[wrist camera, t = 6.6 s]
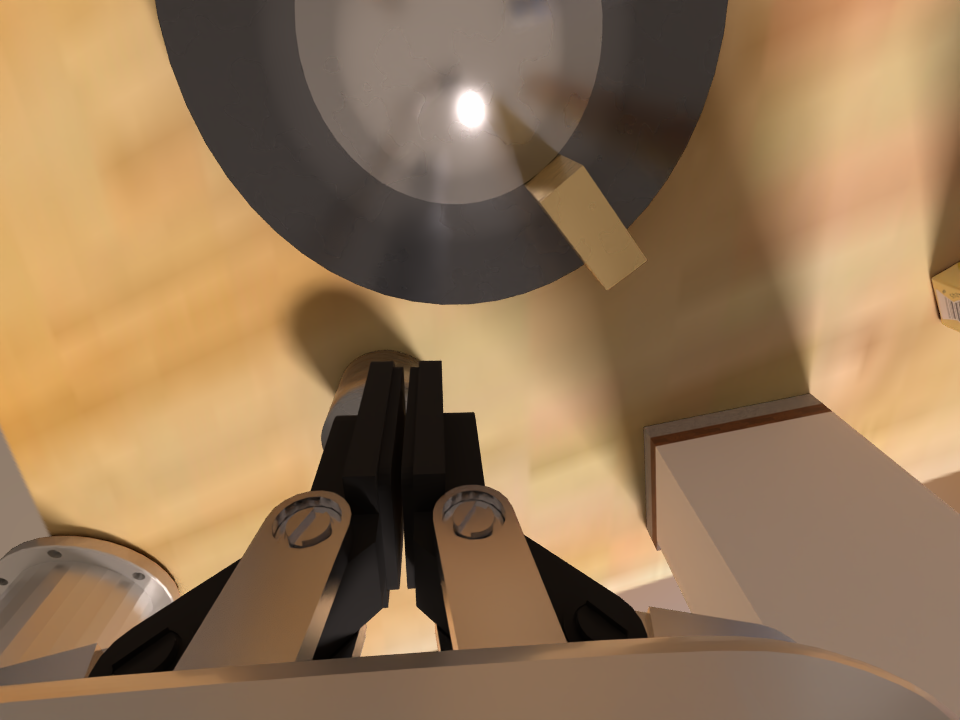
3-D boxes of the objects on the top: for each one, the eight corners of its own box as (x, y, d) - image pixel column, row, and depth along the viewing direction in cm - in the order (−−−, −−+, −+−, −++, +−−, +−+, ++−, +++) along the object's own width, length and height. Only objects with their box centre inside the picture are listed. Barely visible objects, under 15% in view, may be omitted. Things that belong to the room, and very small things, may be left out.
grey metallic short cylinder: (437, 428, 31) (435, 483, 26) (345, 430, 30) (328, 486, 26) (435, 349, 28) (433, 396, 23) (334, 350, 27) (312, 398, 23)
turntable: (784, 85, 21) (893, 81, 16) (438, 362, 28) (437, 423, 22) (480, -641, 12) (505, -1181, 7) (64, 12, 18) (-86, -22, 13)
